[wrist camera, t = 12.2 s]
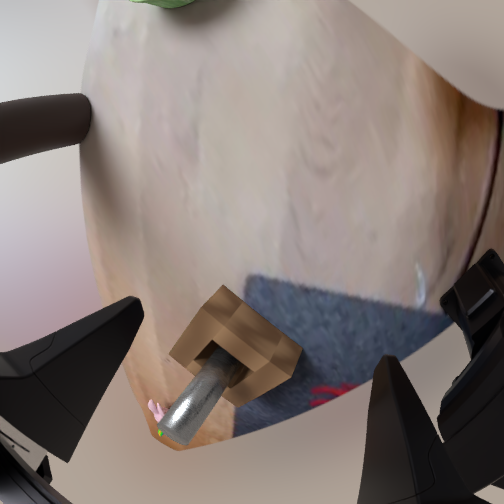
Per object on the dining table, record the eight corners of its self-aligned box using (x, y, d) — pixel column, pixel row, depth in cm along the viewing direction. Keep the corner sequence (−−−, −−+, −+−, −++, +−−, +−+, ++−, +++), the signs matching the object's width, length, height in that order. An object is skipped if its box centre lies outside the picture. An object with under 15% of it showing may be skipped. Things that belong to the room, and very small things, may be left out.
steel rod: (256, 343, 28) (193, 443, 17) (243, 355, 29) (181, 446, 18) (234, 326, 28) (161, 420, 17) (222, 339, 29) (153, 426, 18)
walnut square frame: (302, 348, 25) (291, 377, 22) (251, 383, 31) (237, 407, 27) (223, 284, 26) (201, 307, 23) (187, 333, 31) (168, 354, 28)
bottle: (94, 89, 23) (-66, 117, 6) (91, 144, 26) (-63, 193, 9) (67, 96, 25) (-66, 125, 8) (65, 144, 28) (-63, 186, 11)
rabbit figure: (194, 429, 48) (173, 401, 40) (181, 450, 44) (156, 427, 35) (170, 418, 50) (146, 387, 42) (157, 438, 46) (128, 411, 38)
